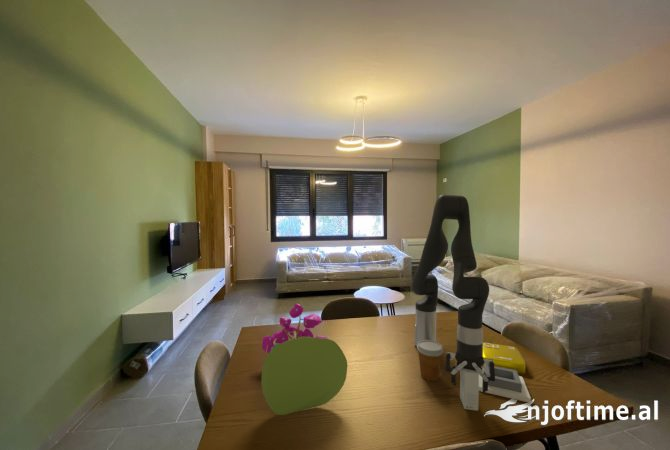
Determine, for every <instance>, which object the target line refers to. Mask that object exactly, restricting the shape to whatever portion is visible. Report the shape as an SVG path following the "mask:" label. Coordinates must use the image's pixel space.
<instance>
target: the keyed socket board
mask: <svg viewBox="0 0 670 450" xmlns="http://www.w3.org/2000/svg"><path fill="white" fill-rule="evenodd" d="M482 368H483V370H484V371H485V373H486V374H487V375H488V374H490V370H489V367H487V365H486V364H484V366H482ZM494 369H495V381H488V391H485V393H486V394H491V395H495V396H499V397H503V398H508V399H512V400H516V401H521V402H526V403H529V404H531V403H532V397H531V395H530V392H529V390H528V387H527V384H526V382H525V380H524V378H523V376H520V375H519V373H517V370H511V369H506V368H501V367H496V366H494ZM482 380H483V378H482V377H481V376H480V375H479V392H481V393H484V392H483V390H482Z"/></svg>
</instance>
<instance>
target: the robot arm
mask: <svg viewBox="0 0 670 450" xmlns="http://www.w3.org/2000/svg"><path fill="white" fill-rule="evenodd" d="M432 211H433V212H432V216H431V222H430V227H429V231H428V234H427V236H426V240H425V242H424V245H423V249H422V251H421V252H422V253H421V255H420V256H421V257H420V259H419V263H418V264H417V269H416V270H415V273H414V275H413V277H412V281H411V288H412V289H411V290H412V292H413V294H415V295H417V296H424V297H422V298H421V299H418V300H417V301H416V302H415V324H414V346H415V347H417V345H418V342H419V341H421V340H432V341H435V342H437V305H438V295H439V294H438V293H439V281H438V279H437V277H436V276H435V275H434V274H430V273H432V271H434V270H435V269H436V268H437V267H439V266H440V265H441V264H442V263H443V262H444V261H445V258H446V256H447V253H448V250H449V243H448V240H447V237H446V235H445V233H444V230H443V223H444V220H455V221H456V220H457V223H458V224H457V225H458V229H457V231H456V233H455V236H454V238H453V240H452V241H451V246H450V252H451V254H450V255H451V259H452V265H453V278H452V285H451V290H452V293H453V295H454V296H455V297H456V298H457V299H460V300H471V301H470V302H469V303H465V304H461V305H460V306H459V307H458V308H457V327H456V352H455V353H454V352H451V351H450V350H447V351H446V355H445V357H446V358H445V371H446V372H448V373H450V376H451V377H450V380H451V381H450V382H451V384H453V386H455V387H456V386H457V382H456V381H457V380H456V379H457V377H456V376H457V373H458V372H460V370H461V369H462V368H464V369H469V370H474V371H477V372H478V373H479V375H480V376H481V377H482V378H483V380H482V390H483V392H482V393H485V391H488V381H495V369H494V361H493V359H491V358H490V359H489V360H487V359H484V358H483V342H484V331H483V313H484V310H485V306H486V303H487V300H488V298H489V294H490V286H489V282H488V281H487V280H486V279H485V278H484V277H481V276H464V275H465V274H466V273H470V272H474V271H475V270H476V269H477V267H478V263H477V260H476V255H475V251H474V248H473V241H472V232H471V216H470V205H469V202H468V200H467V197H465V196H463V195H456V194H440V195H439V196H438V197H437V198H436V201H435V203H434V206H433V210H432ZM454 359H455V360H456V362H455V364H454V365H453V366H451V361H453V360H454ZM484 363H485V364H486V365H487V367H489V370H490V374H488V375H487V374H486V373H485V371H484V370H483V365H484Z"/></svg>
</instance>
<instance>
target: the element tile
mask: <svg viewBox="0 0 670 450" xmlns="http://www.w3.org/2000/svg"><path fill="white" fill-rule="evenodd" d="M483 358H484V359H487V360H489V359H490V358H491V359H493V361H494V366H496V367H501V368H506V369H511V370H517V373H518V374H526V361H525V359H524V358H523V356H522V354H521V352H520V350H519V349H518V348H517V347H516V346H511V345H505V344H499V343H497V344H496V343H492V342H491V343H489V342H484V341H483ZM484 364H485V363H484ZM483 366H484V365H483ZM483 366H482V367H483Z"/></svg>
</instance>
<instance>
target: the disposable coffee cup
mask: <svg viewBox="0 0 670 450" xmlns="http://www.w3.org/2000/svg"><path fill="white" fill-rule="evenodd" d="M416 349H417V352H418V360H419V361H418V362H419V369H420V376H421V377H422V378H423V379H424V380H426V381H437V380H438V379H439V377H440V370H441V369H440V368H441V362H442V356H443V353H444V348H443V345H442V344H441V343H439V342H438V341H436V342H435V341H432V340H421V341H419V342H418V345H417V346H416Z"/></svg>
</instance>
